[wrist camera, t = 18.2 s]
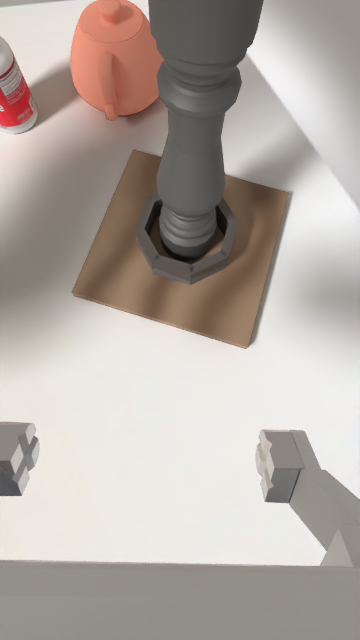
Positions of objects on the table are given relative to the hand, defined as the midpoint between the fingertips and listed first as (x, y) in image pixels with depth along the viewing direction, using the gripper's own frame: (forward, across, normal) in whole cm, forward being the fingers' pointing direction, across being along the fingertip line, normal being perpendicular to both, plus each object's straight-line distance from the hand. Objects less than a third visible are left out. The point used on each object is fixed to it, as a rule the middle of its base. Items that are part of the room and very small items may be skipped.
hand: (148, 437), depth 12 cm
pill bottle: (+44, +21, -10) cm, 49 cm away
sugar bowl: (+46, +7, -14) cm, 49 cm away
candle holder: (+30, -2, +1) cm, 30 cm away
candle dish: (+30, -2, +2) cm, 31 cm away
